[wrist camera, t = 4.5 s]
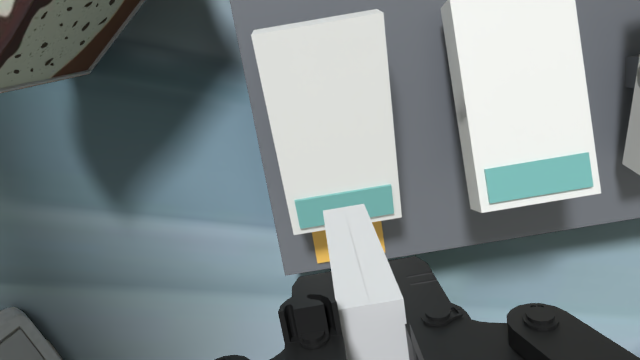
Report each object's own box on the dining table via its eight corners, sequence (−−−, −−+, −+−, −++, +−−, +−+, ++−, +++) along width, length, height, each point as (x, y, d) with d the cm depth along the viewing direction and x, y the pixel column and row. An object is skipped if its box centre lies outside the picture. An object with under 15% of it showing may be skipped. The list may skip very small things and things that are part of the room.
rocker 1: (253, 30, 21) (250, 35, 19) (376, 8, 21) (384, 13, 19) (293, 219, 25) (293, 236, 23) (395, 202, 25) (402, 219, 23)
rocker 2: (440, 8, 22) (450, -4, 21) (554, -12, 22) (573, -26, 21) (470, 208, 23) (482, 213, 21) (581, 190, 23) (603, 193, 21)
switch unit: (234, -22, 26) (216, -42, 21) (684, -100, 26) (781, -140, 21) (288, 248, 31) (284, 287, 26) (673, 184, 30) (751, 211, 25)
